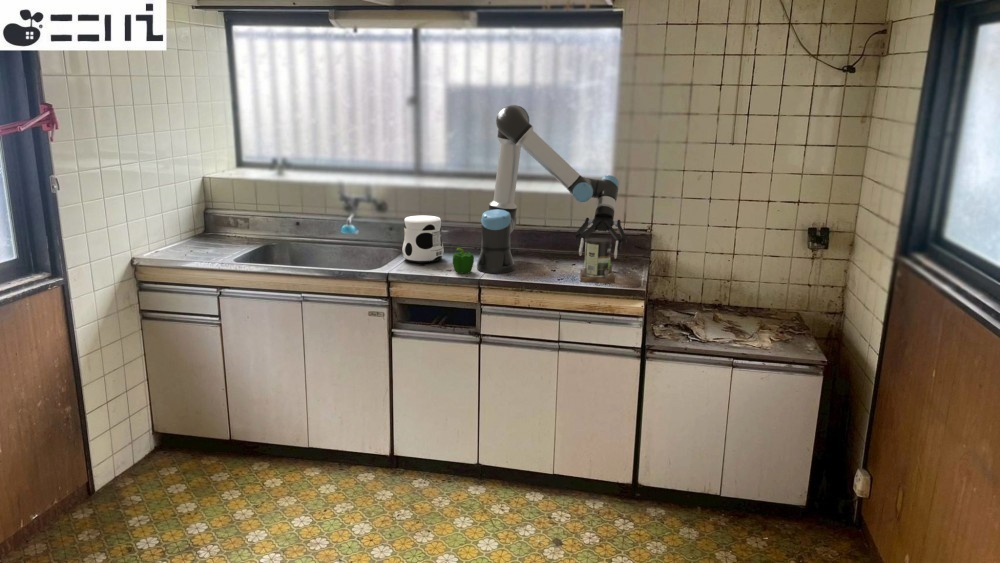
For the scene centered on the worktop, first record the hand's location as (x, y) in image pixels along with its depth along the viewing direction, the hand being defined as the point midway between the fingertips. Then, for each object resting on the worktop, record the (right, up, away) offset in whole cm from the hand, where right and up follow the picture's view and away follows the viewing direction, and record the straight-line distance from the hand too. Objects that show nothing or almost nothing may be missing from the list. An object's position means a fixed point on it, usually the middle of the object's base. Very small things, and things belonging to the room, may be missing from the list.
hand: (597, 255), depth 274 cm
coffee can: (0, -7, +5) cm, 9 cm away
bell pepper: (-52, -7, +10) cm, 54 cm away
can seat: (0, -9, +5) cm, 10 cm away
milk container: (-70, -1, +28) cm, 76 cm away
